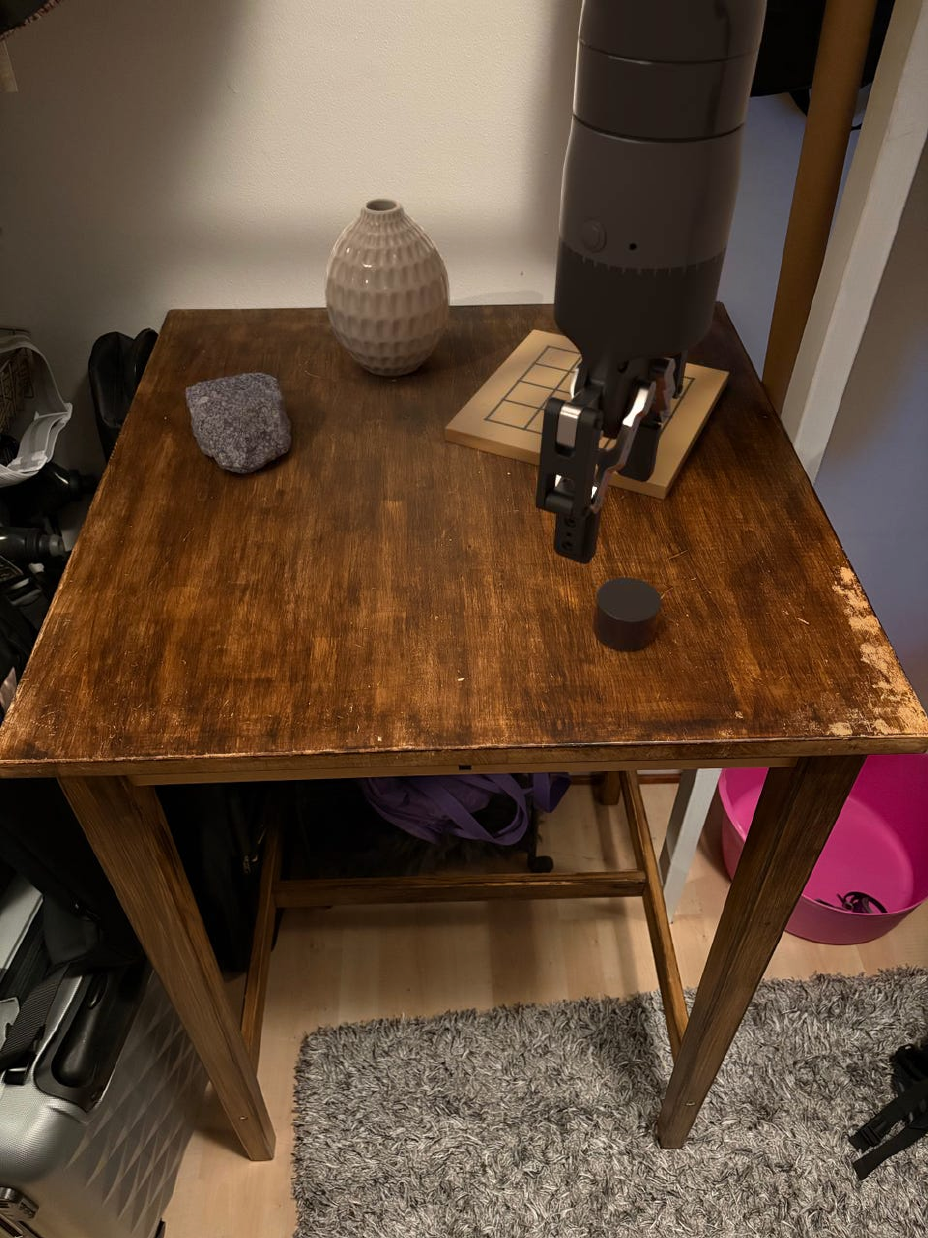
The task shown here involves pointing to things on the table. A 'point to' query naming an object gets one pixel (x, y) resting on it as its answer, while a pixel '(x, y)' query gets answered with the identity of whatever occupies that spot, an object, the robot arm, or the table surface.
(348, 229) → the vase
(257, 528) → the table surface
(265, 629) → the table surface
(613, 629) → the dark grey puck
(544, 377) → the board
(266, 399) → the rock
